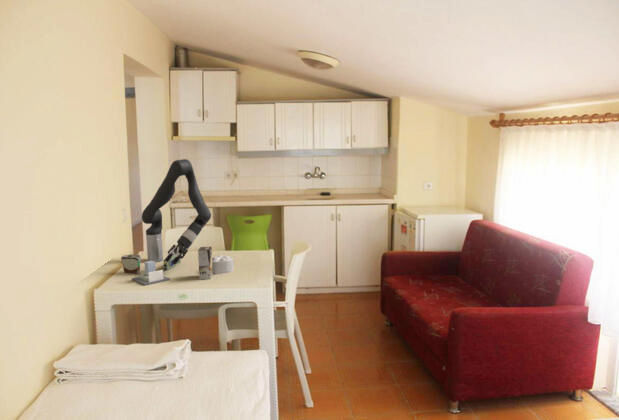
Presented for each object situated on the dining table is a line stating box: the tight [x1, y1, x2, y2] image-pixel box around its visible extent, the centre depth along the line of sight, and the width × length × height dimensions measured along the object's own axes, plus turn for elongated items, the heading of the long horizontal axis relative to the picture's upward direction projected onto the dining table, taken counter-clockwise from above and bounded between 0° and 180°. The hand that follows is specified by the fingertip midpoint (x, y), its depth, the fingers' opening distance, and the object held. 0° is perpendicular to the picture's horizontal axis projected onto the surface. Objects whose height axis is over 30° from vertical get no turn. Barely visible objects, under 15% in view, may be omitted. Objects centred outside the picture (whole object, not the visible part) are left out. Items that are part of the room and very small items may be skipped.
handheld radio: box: [162, 254, 182, 273], centre depth 288 cm, size 7×3×25 cm
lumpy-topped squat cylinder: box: [212, 255, 235, 275], centre depth 276 cm, size 10×13×9 cm
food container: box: [120, 254, 142, 275], centre depth 277 cm, size 12×6×10 cm, turn 71°
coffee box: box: [197, 246, 214, 280], centre depth 264 cm, size 9×6×16 cm
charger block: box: [144, 260, 157, 277], centre depth 261 cm, size 4×4×9 cm
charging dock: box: [131, 269, 171, 286], centre depth 261 cm, size 16×14×6 cm
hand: (169, 262), depth 268 cm, fingers open, 8 cm apart
